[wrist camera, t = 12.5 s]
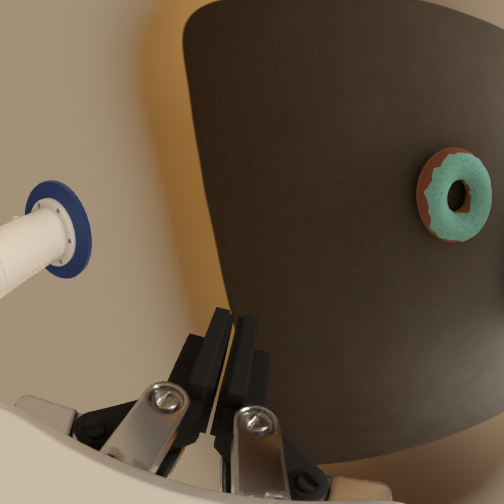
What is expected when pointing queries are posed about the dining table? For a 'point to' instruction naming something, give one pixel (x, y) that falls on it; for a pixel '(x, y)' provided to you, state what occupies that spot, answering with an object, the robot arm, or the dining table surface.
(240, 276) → the dining table surface
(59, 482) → the robot arm
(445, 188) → the donut
